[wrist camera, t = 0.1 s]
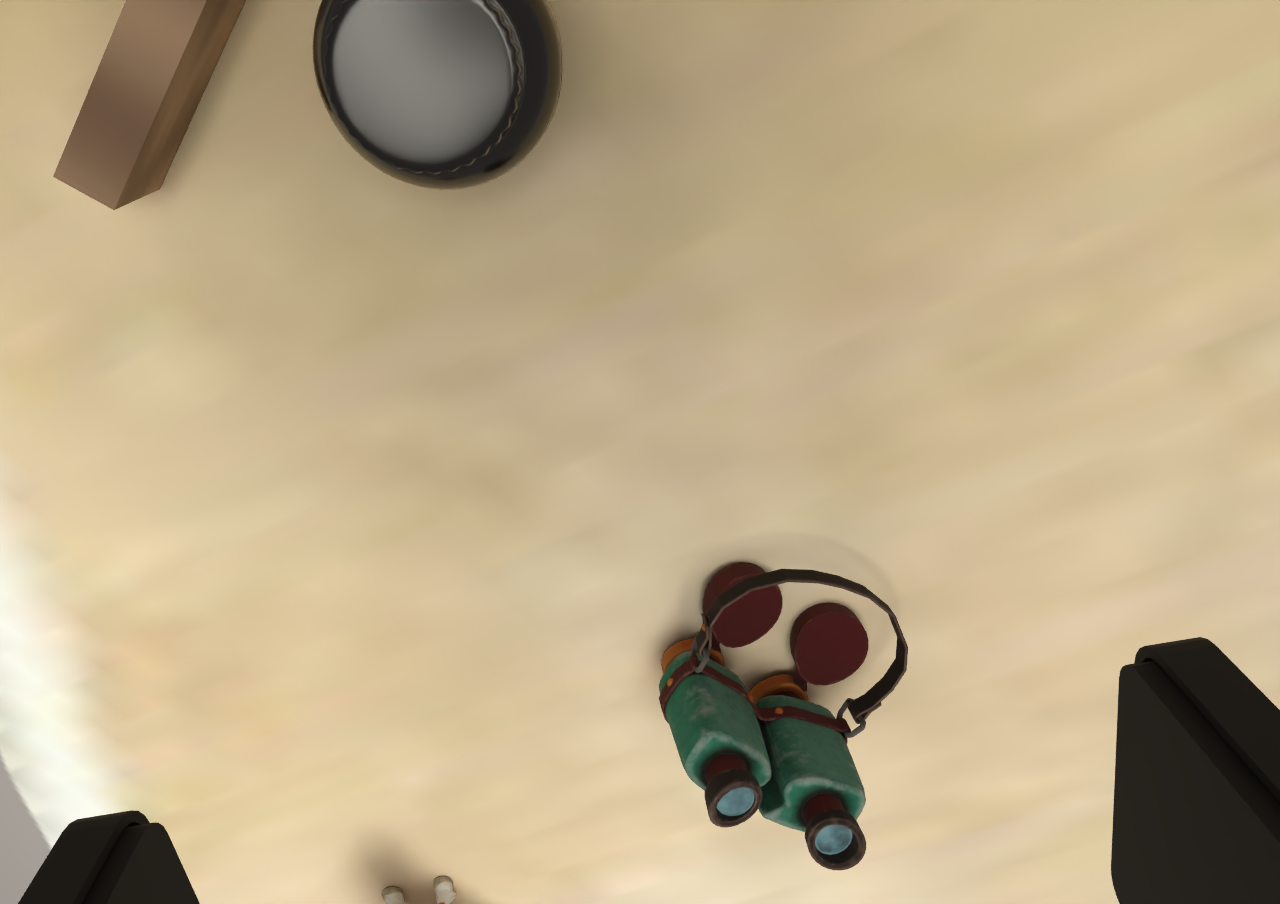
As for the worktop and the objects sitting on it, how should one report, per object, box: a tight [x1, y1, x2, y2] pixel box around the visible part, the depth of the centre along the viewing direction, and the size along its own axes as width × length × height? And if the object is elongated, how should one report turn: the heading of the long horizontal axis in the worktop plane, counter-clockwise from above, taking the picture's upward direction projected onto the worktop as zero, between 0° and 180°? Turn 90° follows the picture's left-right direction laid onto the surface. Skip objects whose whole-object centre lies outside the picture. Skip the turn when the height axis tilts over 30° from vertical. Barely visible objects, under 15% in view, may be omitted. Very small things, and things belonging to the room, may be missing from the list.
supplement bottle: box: [313, 0, 562, 189], centre depth 30 cm, size 7×7×12 cm
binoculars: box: [659, 563, 908, 870], centre depth 42 cm, size 9×11×10 cm
